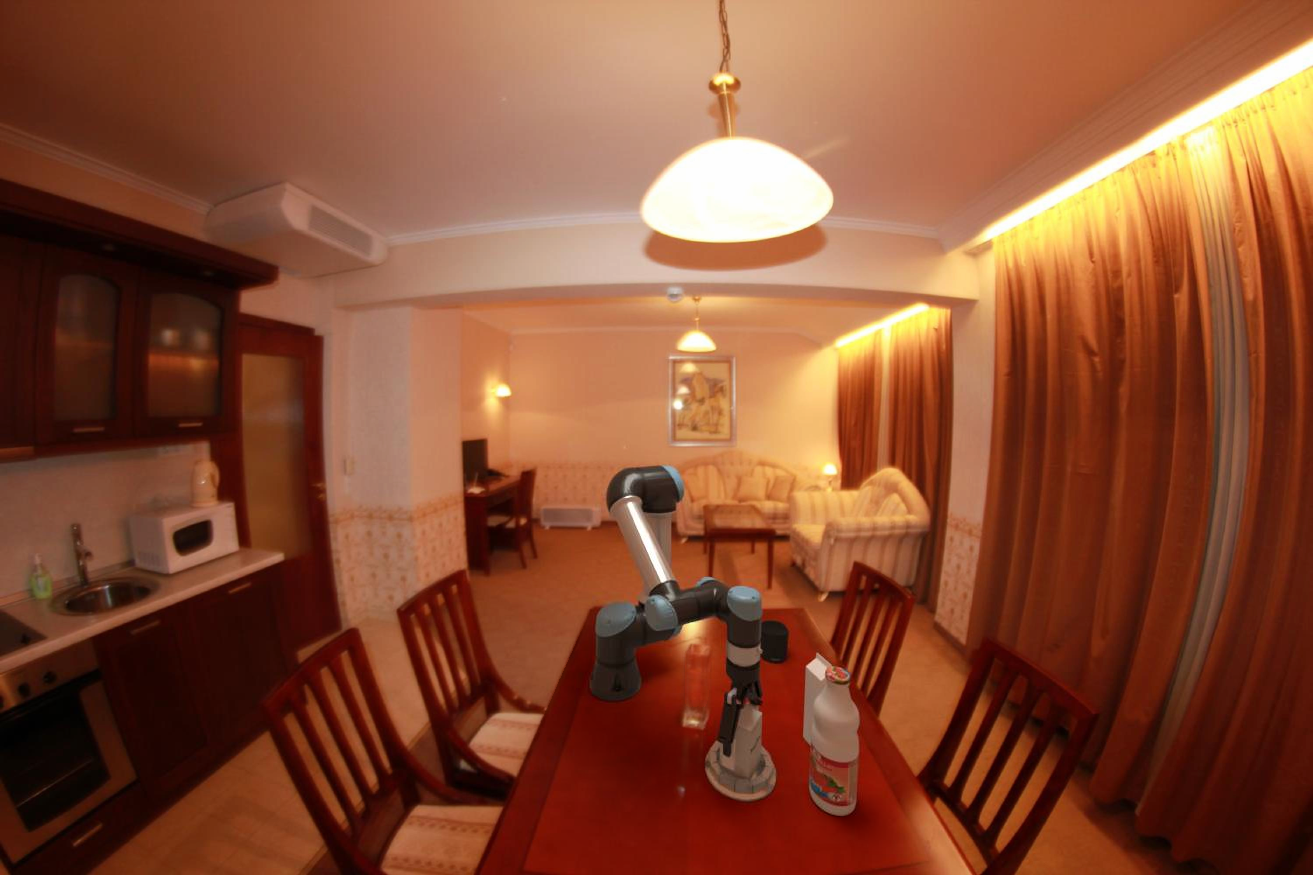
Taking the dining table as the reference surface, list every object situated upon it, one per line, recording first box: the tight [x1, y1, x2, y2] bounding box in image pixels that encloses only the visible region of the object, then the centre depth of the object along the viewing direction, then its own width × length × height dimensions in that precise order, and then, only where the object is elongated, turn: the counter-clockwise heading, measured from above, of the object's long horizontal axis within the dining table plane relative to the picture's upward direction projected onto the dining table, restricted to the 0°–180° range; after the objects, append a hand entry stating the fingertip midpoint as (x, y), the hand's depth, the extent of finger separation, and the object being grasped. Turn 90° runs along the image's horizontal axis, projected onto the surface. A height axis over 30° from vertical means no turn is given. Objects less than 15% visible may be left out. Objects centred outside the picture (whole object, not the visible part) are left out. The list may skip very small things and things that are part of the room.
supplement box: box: [719, 701, 763, 780], centre depth 101 cm, size 7×7×13 cm
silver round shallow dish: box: [704, 740, 777, 803], centre depth 101 cm, size 16×16×3 cm
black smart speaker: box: [760, 619, 790, 664], centre depth 147 cm, size 9×9×10 cm
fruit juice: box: [808, 665, 860, 817], centre depth 94 cm, size 9×9×28 cm
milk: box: [802, 652, 833, 747], centre depth 109 cm, size 6×6×22 cm
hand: (740, 747), depth 101 cm, fingers open, 12 cm apart
